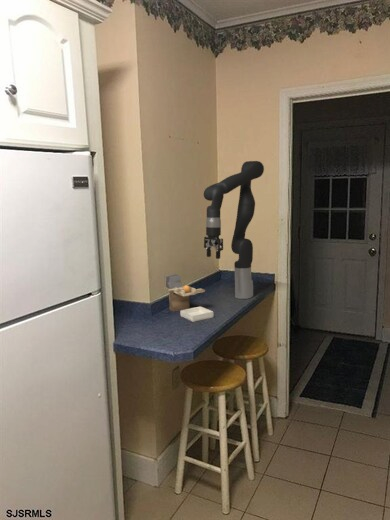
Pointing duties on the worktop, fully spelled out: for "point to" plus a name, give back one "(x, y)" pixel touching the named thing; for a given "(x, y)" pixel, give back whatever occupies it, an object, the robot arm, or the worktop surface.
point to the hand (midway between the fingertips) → (213, 257)
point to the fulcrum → (178, 301)
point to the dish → (196, 314)
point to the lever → (179, 286)
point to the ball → (186, 288)
